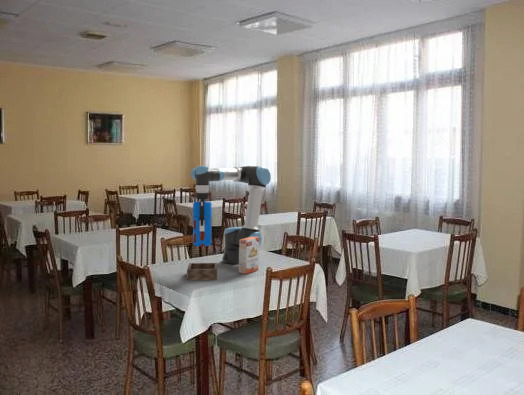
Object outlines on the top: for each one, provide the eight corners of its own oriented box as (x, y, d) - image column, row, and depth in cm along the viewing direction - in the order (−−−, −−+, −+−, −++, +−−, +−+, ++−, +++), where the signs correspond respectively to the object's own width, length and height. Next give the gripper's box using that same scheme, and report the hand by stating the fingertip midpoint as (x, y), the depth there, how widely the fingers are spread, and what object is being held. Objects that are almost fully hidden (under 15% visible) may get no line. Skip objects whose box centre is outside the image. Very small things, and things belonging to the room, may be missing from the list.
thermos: (211, 246, 297) (211, 203, 295) (192, 246, 296) (192, 203, 294) (211, 242, 308) (211, 201, 305) (193, 243, 307) (193, 201, 305)
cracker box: (246, 274, 308) (246, 240, 306) (238, 273, 312) (238, 239, 310) (259, 270, 320) (259, 237, 318) (251, 268, 323) (251, 236, 321)
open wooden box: (217, 272, 313) (217, 262, 312) (216, 279, 296) (216, 269, 296) (189, 272, 312) (189, 263, 311) (187, 279, 295) (187, 269, 294)
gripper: (196, 190, 310) (197, 226, 313) (194, 194, 287) (194, 232, 289) (209, 190, 311) (209, 226, 313) (208, 194, 288) (208, 232, 290)
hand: (202, 229), depth 301 cm, fingers closed on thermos, 11 cm apart
